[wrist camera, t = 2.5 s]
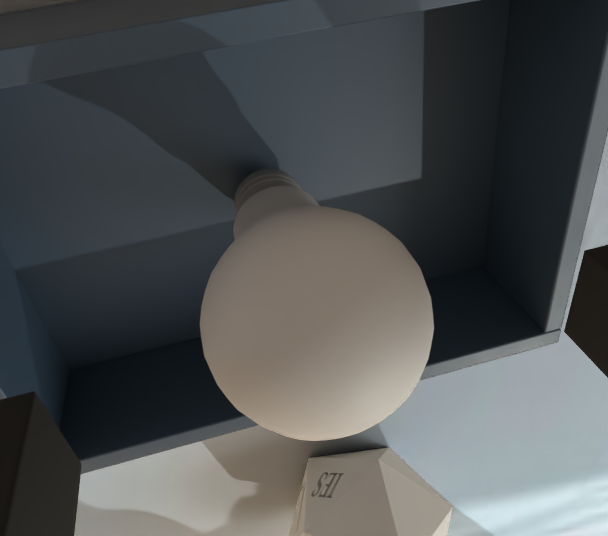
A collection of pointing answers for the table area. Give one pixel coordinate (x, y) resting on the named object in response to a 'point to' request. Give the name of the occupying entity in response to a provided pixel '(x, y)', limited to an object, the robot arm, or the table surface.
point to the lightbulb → (313, 314)
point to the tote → (289, 158)
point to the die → (368, 498)
